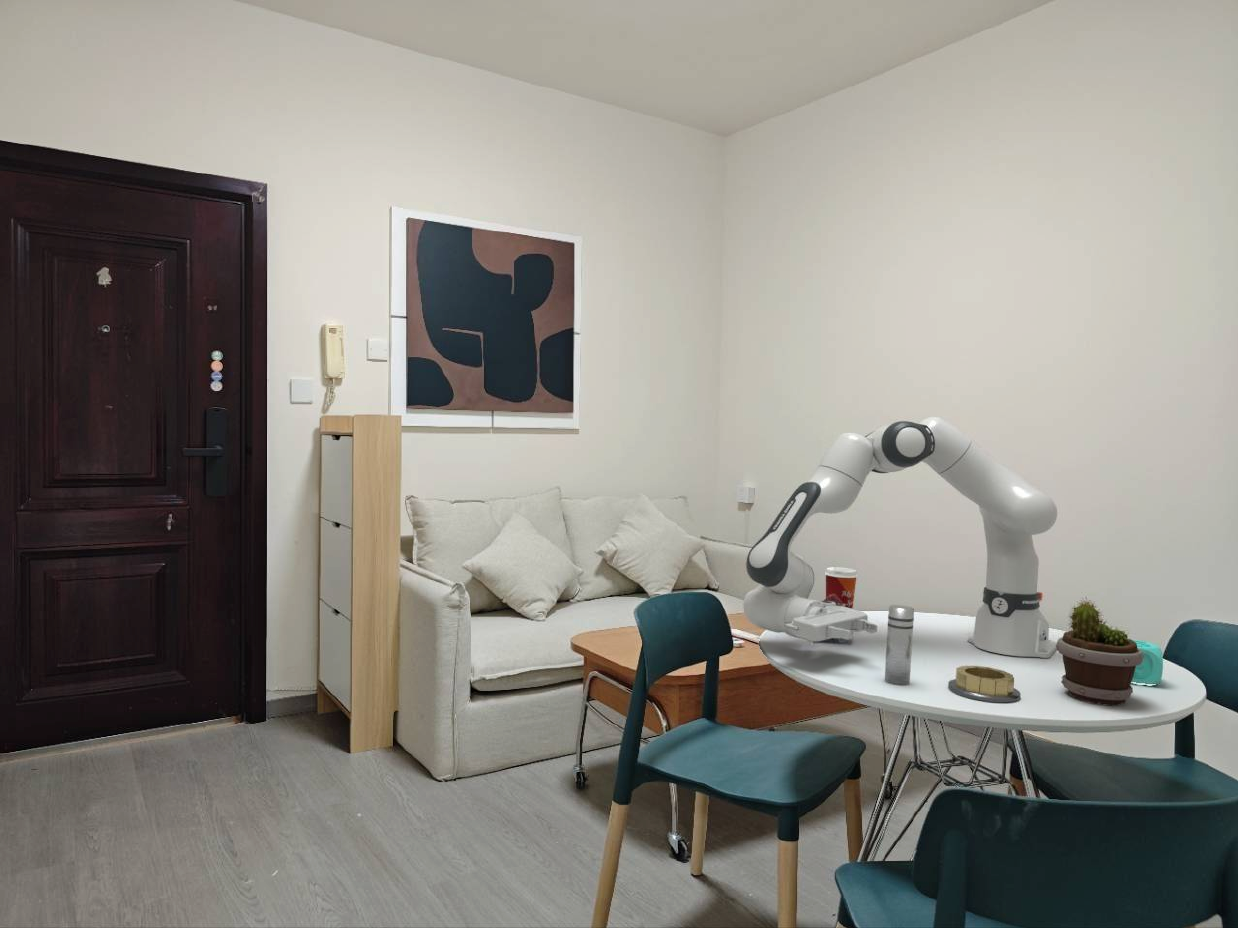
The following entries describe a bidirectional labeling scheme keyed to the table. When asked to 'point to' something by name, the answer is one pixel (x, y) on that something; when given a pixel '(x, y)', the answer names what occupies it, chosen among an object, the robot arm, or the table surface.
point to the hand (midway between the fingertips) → (863, 632)
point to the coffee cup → (841, 584)
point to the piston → (899, 644)
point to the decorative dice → (1149, 664)
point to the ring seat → (984, 684)
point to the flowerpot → (1097, 658)
